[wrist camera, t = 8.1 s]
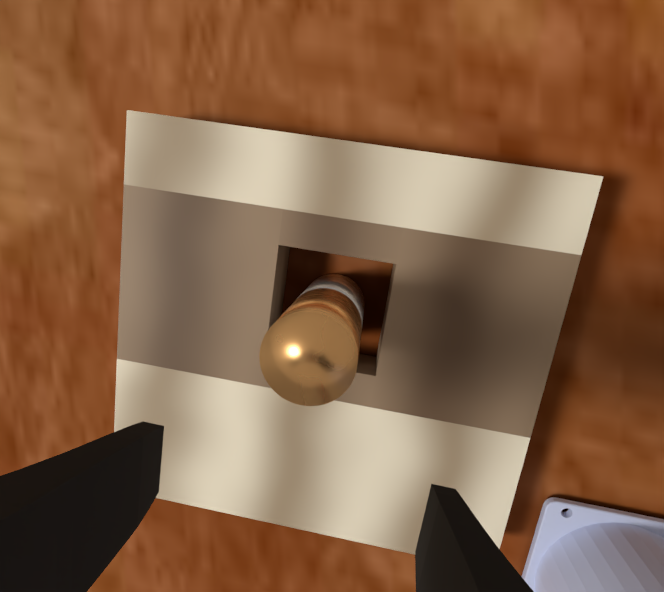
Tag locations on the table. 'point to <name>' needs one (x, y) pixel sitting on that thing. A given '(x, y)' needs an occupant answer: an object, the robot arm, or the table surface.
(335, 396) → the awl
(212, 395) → the board
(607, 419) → the table surface
